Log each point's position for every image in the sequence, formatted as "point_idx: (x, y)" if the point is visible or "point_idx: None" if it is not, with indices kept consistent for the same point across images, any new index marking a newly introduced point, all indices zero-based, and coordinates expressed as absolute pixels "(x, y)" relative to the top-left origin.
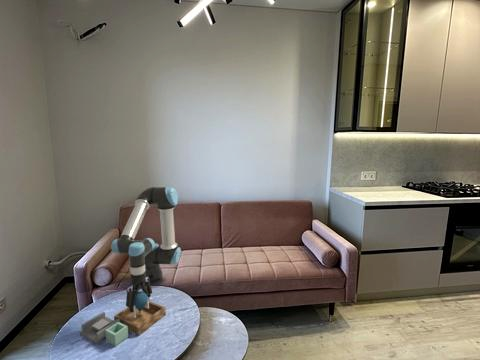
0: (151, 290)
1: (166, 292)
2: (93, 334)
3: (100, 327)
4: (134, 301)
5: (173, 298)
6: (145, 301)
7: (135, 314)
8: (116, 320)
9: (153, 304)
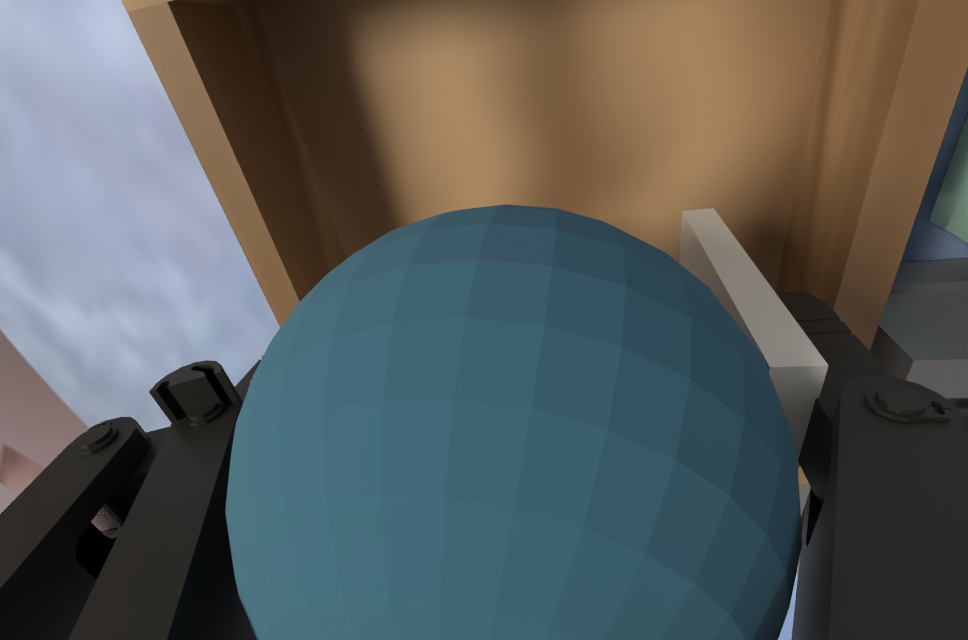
0: (26, 499)
1: (99, 372)
2: None
3: None
4: (868, 523)
5: (37, 230)
6: (436, 239)
7: (705, 235)
8: (958, 386)
9: (275, 255)
